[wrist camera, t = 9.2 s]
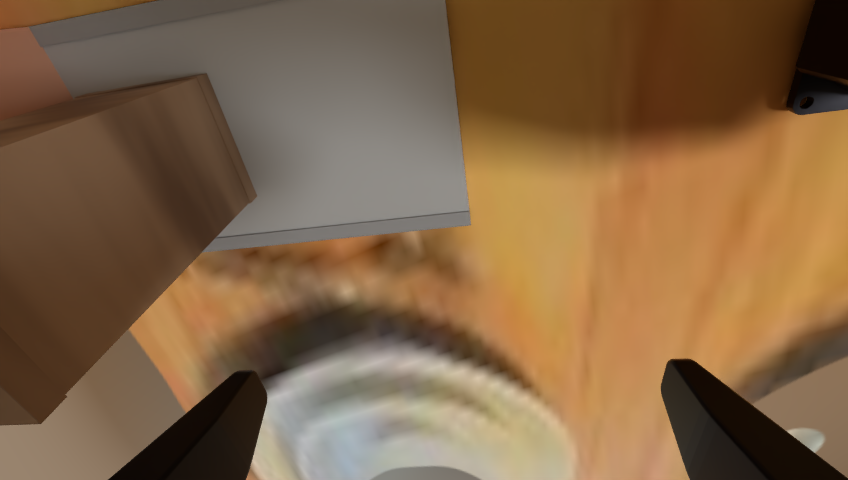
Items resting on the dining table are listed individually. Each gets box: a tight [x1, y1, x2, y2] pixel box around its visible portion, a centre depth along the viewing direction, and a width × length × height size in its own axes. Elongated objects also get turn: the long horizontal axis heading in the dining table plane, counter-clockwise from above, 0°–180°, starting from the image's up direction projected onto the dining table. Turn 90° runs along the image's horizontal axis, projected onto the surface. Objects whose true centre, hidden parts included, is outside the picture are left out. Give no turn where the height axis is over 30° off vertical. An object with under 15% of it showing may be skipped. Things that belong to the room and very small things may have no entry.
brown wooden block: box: [0, 73, 257, 425], centre depth 15 cm, size 6×6×13 cm
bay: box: [0, 0, 471, 252], centre depth 18 cm, size 19×12×4 cm, turn 99°
